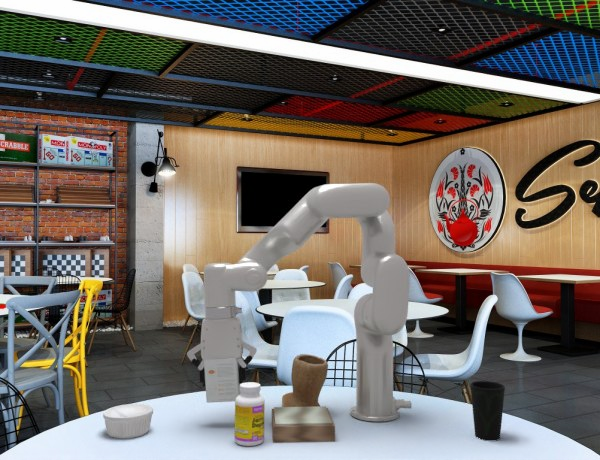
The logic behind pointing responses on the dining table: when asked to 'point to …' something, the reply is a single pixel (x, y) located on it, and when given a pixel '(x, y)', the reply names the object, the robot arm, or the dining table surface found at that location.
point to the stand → (302, 424)
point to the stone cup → (306, 381)
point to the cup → (487, 408)
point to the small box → (222, 380)
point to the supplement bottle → (249, 415)
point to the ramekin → (128, 420)
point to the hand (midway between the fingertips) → (223, 383)
